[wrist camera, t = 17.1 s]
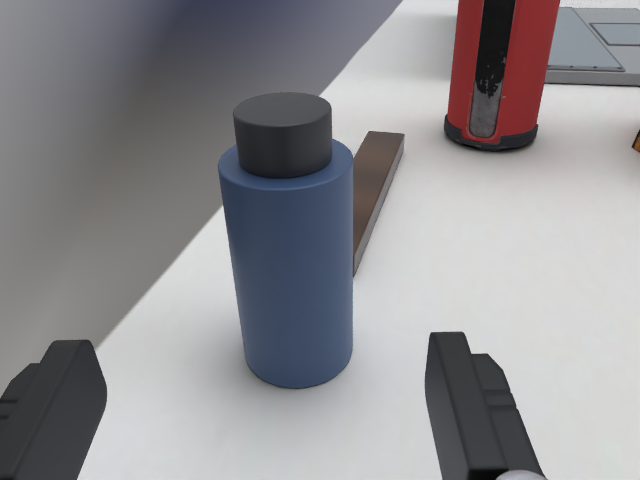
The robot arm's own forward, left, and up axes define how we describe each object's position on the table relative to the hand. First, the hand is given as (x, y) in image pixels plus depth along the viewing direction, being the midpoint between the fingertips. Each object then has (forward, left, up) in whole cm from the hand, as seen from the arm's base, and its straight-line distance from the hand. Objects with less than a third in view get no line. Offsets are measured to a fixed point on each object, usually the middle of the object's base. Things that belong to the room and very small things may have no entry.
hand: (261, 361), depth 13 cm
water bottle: (+7, +7, -9) cm, 14 cm away
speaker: (+36, +15, -10) cm, 40 cm away
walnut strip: (+20, +15, -9) cm, 27 cm away
